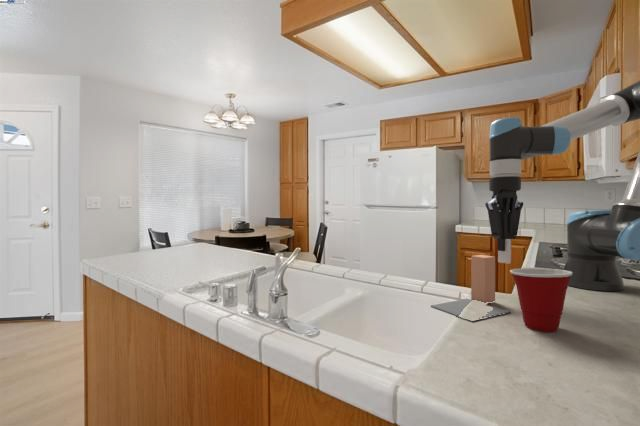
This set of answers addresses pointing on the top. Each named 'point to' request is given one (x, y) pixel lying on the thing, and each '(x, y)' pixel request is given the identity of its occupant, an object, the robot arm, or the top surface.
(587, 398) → the top surface
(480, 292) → the terracotta block
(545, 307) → the plastic cup
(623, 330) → the top surface
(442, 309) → the slate mat
